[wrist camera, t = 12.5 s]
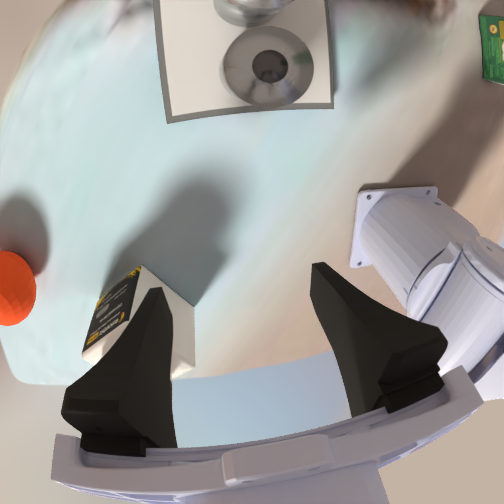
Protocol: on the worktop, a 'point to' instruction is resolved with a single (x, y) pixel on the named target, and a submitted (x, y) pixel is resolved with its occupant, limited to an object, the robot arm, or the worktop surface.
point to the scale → (215, 46)
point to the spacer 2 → (267, 67)
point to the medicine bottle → (123, 309)
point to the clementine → (15, 288)
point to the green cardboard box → (492, 48)
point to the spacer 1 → (249, 11)
